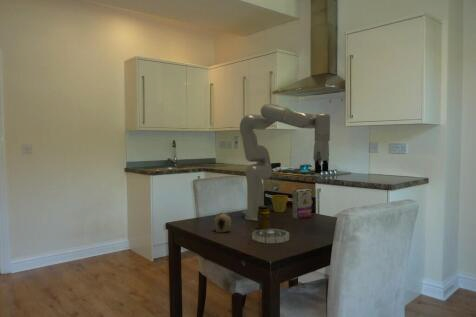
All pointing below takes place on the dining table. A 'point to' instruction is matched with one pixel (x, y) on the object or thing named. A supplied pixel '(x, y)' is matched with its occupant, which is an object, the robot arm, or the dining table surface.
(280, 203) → the plant pot
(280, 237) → the faceted plate
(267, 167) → the robot arm
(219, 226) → the garlic bulb
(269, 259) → the dining table surface
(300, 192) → the candy bar box
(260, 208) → the condiment
